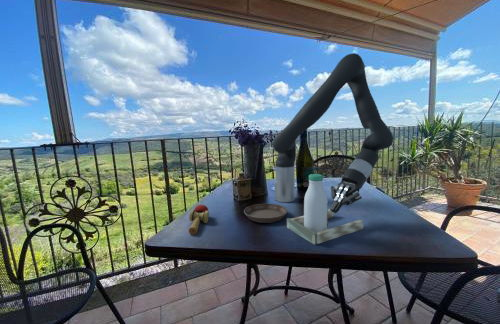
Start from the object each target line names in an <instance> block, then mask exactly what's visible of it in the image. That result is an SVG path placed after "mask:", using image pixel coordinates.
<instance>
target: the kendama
mask: <svg viewBox="0 0 500 324" xmlns="http://www.w3.org/2000/svg"><path fill="white" fill-rule="evenodd" d="M209 217H210V212H209V208H208V206H206V205H205V204H197V205H196V206H195V207H194V209H192V210H190V213H189V217H188V218H189V222H192V223H191V226H189V229H188V233H189V234H190V235H191V236H193V235H197V233H198V229H199V225H200V222H201V221H202V222H203V223H204V224H207V223H208V221H209Z"/></svg>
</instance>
